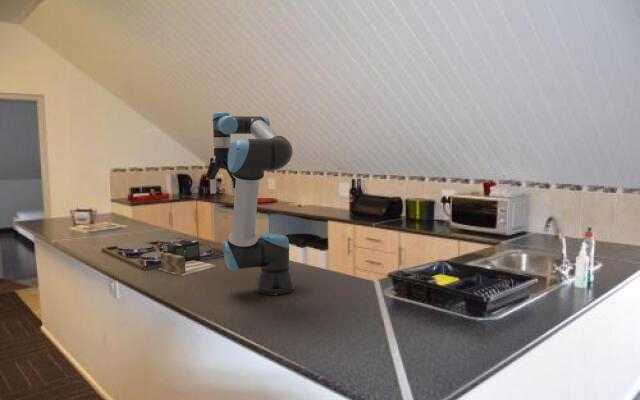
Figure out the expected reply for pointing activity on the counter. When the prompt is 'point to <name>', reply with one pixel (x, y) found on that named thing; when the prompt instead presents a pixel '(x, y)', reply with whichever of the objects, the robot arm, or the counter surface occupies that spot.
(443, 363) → the counter surface
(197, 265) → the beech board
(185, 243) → the tampon box
